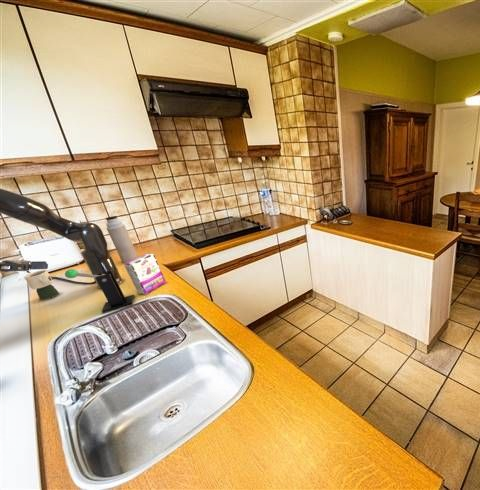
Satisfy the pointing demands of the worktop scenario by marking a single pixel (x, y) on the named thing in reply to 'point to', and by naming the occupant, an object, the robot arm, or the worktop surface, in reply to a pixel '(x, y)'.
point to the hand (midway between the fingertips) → (47, 265)
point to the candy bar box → (145, 273)
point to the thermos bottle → (121, 239)
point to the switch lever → (79, 274)
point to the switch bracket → (112, 292)
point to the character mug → (42, 284)
